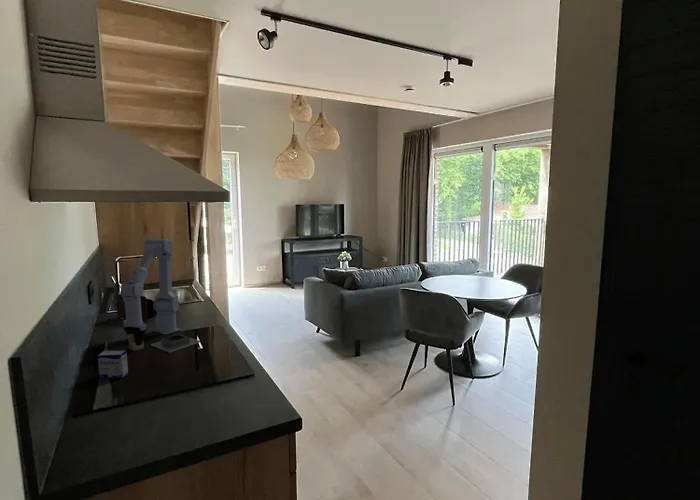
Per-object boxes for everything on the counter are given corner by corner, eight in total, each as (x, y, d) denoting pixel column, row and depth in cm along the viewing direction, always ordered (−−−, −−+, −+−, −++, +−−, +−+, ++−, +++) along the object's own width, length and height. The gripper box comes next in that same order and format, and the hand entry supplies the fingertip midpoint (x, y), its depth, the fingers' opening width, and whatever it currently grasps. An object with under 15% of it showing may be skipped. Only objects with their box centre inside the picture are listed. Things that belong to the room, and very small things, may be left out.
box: (98, 379, 136) (96, 355, 135) (105, 373, 141) (103, 350, 140) (122, 378, 137) (120, 354, 136) (128, 372, 142) (126, 349, 141)
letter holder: (146, 322, 202) (144, 295, 200) (117, 319, 208) (114, 292, 206) (161, 317, 211) (160, 291, 209) (132, 314, 217) (130, 288, 215)
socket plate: (150, 345, 168) (150, 339, 168) (181, 336, 179) (180, 330, 179) (169, 352, 160) (169, 346, 160) (200, 342, 171) (199, 336, 171)
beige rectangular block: (129, 349, 165) (128, 335, 164) (138, 346, 168) (137, 332, 167) (134, 350, 162) (133, 336, 162) (143, 347, 165) (142, 334, 165)
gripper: (114, 311, 164) (117, 343, 166) (132, 317, 156) (135, 350, 157) (132, 307, 170) (134, 338, 171) (150, 313, 161) (152, 345, 163)
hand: (136, 344), depth 165 cm, fingers closed on beige rectangular block, 4 cm apart
